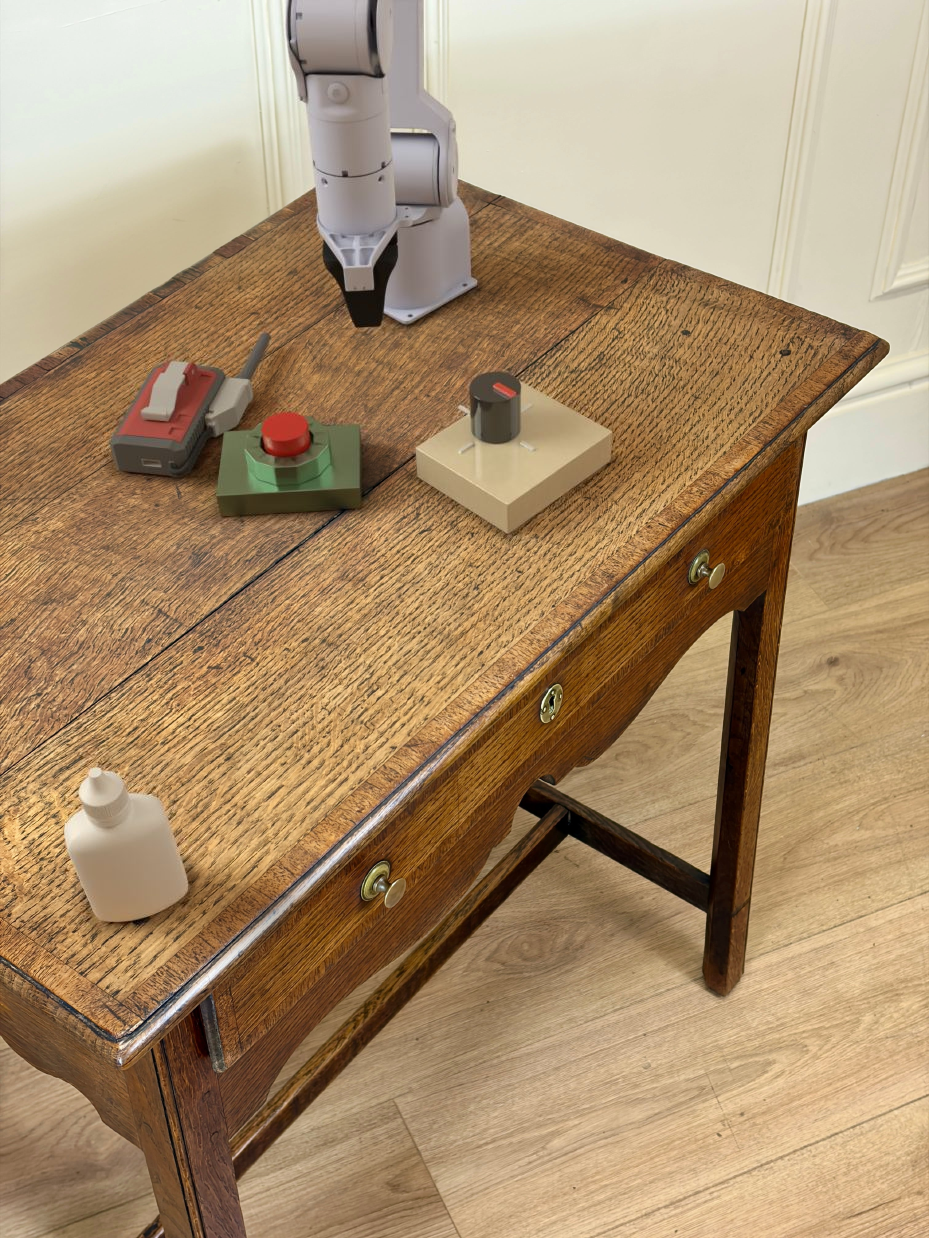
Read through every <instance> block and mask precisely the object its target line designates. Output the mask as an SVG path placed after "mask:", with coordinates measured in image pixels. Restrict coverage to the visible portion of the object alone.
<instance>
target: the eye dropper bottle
mask: <svg viewBox="0 0 929 1238" xmlns="http://www.w3.org/2000/svg"><path fill="white" fill-rule="evenodd" d="M123 779H124V778H122V777H121V775H119V774H118V773H117V772H115V771H110V770H102V768H101V767H98V766H95V767H92V768H90V769H89V770H88V773H87V777H86V778H85V779H84V780H83V781H82V782H81V784H80V785H79V789H78V797H79V800H80V803H81V805H82V806H81V807H82V808H81V809H80V810H79V811H77V812H76V813H75V814H74V815H73V816H71V817H70V818H69V819H68V820H67V822H66V823H65V825H64V829H63V834H64V835H63V836H64V842H65V845H66V849H67V854H68V855H69V858H70V861H71V863H72V866H73V868H74V871H75V872H76V875H77V878H78V880H79V882H80V884H81V887H82V890H83V891H84V893H85V895H86V898H87V900H88V903H89V905H90V908H91V910H92V911H93V914H94V915H95V917H96V918H97V920H100V921H102V922H107V923H108V922H109V923H111V922H112V923H122V922H123V923H124V922H130V921H131V922H132V921H136V920H142V919H144V918H148V917H151V916H153V915H156V914H157V913H160V912H162V911H164V910H166V909H168V908H169V907H171V906H173V905H174V904H176V903H177V902H179V901H180V900H181V899H182V898H184V897H185V895H187V893H188V891H189V881H188V876H187V873H186V868H185V865H184V862H183V859H182V857H181V853H180V849H179V847H178V844H177V841H176V837H175V835H174V832H173V828H172V825H171V823H170V821H169V818H168V814H167V812H166V809H165V805H164V804H163V802H162V801H161V799H160V798H159V797H157V796H155V795H152V794H147V793H135V792H128V789H127V787H126V783H125V782H124V780H123Z"/></svg>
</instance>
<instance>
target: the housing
mask: <svg viewBox="0 0 929 1238" xmlns="http://www.w3.org/2000/svg"><path fill="white" fill-rule="evenodd" d="M302 416H303V417H304V418H305V419H306V420H307V422H308V427H309V434H310V441H311V443H310V446H309V448H308V449H307V450H306V451H305V452H304V453H302V454H299V455H297V456H294V457H281V458H278V457H275V456H272V455H270V454H268V453H267V451H266V450H265V447H264V442H263V436H262V430H261V428H262V424H263V423H264V421H260V422H259V423H257V424H256V425H255V426H254V428H252V429H246V430H245V429H243V430H228V431H226V432H224V433H223V435H222V443H221V444H222V445H221V451H220V460H219V462H220V463H219V470H218V478H217V486H216V494H215V496H216V497H215V498H216V502H217V506H218V511H219V516H220V517H237V516H238V517H239V516H254V515H255V516H256V515H257V516H258V515H272V514H289V513H292V514H293V513H306V512H323V511H326V512H327V511H341V510H342V511H343V510H359V509H362V508H363V442H362V431H361V425H360V423H351V424H350V423H349V424H333V425H323V423H321V421H320V420H319V419H315V418H312V417H309V416H305V415H302Z"/></svg>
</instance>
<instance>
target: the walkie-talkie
mask: <svg viewBox="0 0 929 1238" xmlns="http://www.w3.org/2000/svg"><path fill="white" fill-rule="evenodd" d="M271 339H272V338H271V334H270V333H268V332H262V333H260V334H259V337H258V339H257V340H256V342H255V344H254V346H253V348H252V350H251V352H250V354H249V355H248V357H247V360H246V361H245V364H244V365H243V367H242V369H241V371H240V373H238V374H237V376H236V377H227V376H226V373H225V372H224V370H222V369H220V368H218V367H216V366H208V365H207V366H206V365H198V364H196V363H195V362H190V361H178V360H168V361H167V362H162V363H159V364H157V365H155V366H153V367H152V368H151V370H150V371H149V373H148V375H147V376H146V377H145V380H144V382H143V383H142V385H141V386H140V388H139V390H138V392H137V393H136V395H135V397H134V400H132V403H130V404H129V405H130V406H129V407H128V409H127V411H126V412H125V414H124V415H123V416H122V419H121V420H120V423H119V424H118V426H117V427H116V428H115V431H113V434H112V436H111V437H110V440H108V444H109V447H110V450H111V455H112V457H113V461H114V465H115V466H116V467H117V469H118V471H122V472H128V473H129V472H130V473H140V474H148V475H158V476H159V475H160V476H168V477H169V476H170V477H172V478H174V479H181V478H184V477H186V476H187V475H188V474H190V473H191V472H192V470H193V469H194V466H195V465H196V462H197V461H198V458H199V456H200V454H201V453H202V449H203V448H204V446H205V445H206V444H207V441H208V440H209V439H210V438H212V437H213V438H217V437H219V436H220V435H222V434H224V432H226V431H231V430H232V429H234V428H236V427H237V426H238V425H239V423H240V421H241V419H242V417H243V415H244V413H245V410H246V409H247V408H248V406H249V404H250V403H251V402H252V400H253V398H254V392H253V386H252V378H253V376H254V375H255V373H256V370H257V369H258V366H259V365H260V362H261V361H262V359H263V356H264V353H265V351H266V349H267V348H268V346H269V344H270V341H271Z"/></svg>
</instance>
